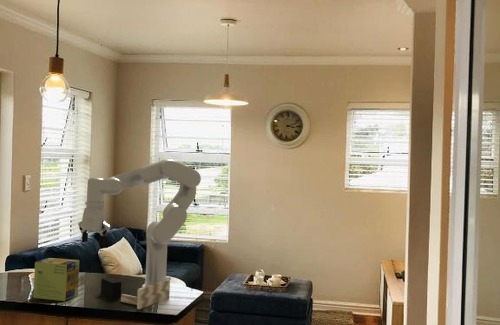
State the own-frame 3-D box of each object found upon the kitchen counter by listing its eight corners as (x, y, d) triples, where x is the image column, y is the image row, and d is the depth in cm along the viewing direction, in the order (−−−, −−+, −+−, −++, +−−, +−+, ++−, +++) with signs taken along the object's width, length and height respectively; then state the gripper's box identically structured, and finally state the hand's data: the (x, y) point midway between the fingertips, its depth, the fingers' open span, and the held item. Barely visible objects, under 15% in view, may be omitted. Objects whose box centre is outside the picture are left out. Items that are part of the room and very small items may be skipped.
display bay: (145, 293, 233) (145, 275, 233) (169, 297, 227) (170, 279, 227) (113, 304, 214) (114, 285, 214) (139, 309, 208) (140, 289, 208)
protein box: (65, 301, 215) (67, 264, 215) (32, 298, 218) (34, 261, 218) (78, 295, 226) (80, 260, 226) (47, 292, 229) (48, 257, 229)
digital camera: (123, 297, 226) (124, 281, 226) (112, 299, 222) (113, 282, 222) (111, 292, 233) (112, 276, 233) (100, 293, 229) (101, 278, 229)
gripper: (74, 204, 232) (72, 242, 231) (105, 207, 225) (103, 246, 225) (85, 203, 238) (83, 240, 238) (116, 206, 232) (114, 244, 232)
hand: (93, 243), depth 232 cm, fingers open, 9 cm apart
